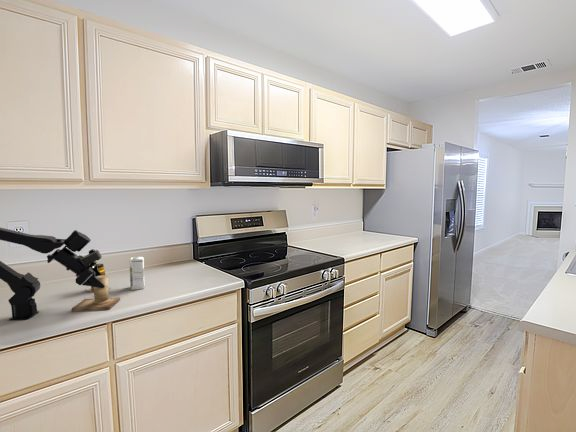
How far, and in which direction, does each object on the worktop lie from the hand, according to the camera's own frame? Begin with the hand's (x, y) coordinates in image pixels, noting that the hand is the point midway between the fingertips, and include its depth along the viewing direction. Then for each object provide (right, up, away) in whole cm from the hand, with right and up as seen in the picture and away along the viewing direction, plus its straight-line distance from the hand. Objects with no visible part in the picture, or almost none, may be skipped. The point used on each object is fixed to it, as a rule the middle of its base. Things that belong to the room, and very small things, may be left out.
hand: (104, 283), depth 129 cm
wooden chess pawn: (-1, -7, 0) cm, 8 cm away
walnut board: (-3, -9, 0) cm, 9 cm away
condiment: (-15, -7, +20) cm, 26 cm away
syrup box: (+3, -7, +22) cm, 23 cm away
